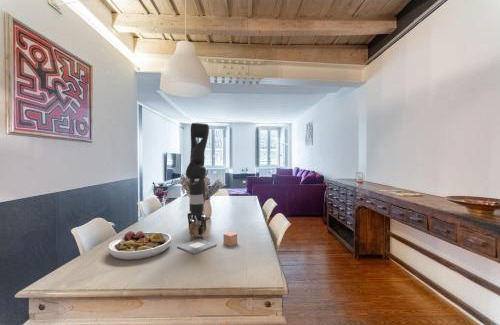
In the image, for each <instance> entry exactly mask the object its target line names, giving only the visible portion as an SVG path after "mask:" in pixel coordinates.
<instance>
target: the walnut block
mask: <svg viewBox="0 0 500 325" xmlns="http://www.w3.org/2000/svg"><path fill="white" fill-rule="evenodd" d="M200 225H201V223H200ZM189 235H190V236H191V235H192V236H193V237H199V236H201V235H202V236H203V235H205V232H204V227H203V233H202V234H201V235H199V227H198V224H197V223H193V224H190V231H189Z"/></svg>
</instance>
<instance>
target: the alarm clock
mask: <svg viewBox="0 0 500 325" xmlns="http://www.w3.org/2000/svg"><path fill="white" fill-rule="evenodd" d="M200 221H201V220H200ZM200 221H199V222H200ZM190 222H191V219H190ZM196 223H197V222H196ZM203 224H204V223H203ZM206 229H207V225H206V226H205V227H204V233H205V232H206ZM188 232H190V224H189V223H188ZM190 236H191V237H192V236H193V235H190ZM200 237H201V238H202V239H203V237H204V236H203V234H202V235H200Z"/></svg>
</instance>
